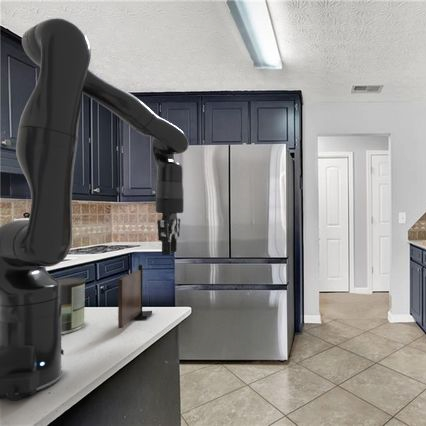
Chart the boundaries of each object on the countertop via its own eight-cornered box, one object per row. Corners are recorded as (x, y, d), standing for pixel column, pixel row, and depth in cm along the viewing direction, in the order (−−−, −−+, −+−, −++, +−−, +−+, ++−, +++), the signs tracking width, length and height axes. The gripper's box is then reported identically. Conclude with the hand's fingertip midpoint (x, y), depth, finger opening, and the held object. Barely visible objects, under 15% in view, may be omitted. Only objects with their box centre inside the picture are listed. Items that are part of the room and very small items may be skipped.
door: (122, 328, 85) (122, 279, 85) (117, 328, 85) (118, 279, 85) (141, 312, 98) (141, 270, 98) (137, 312, 98) (137, 270, 98)
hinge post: (146, 319, 97) (146, 266, 96) (125, 320, 95) (126, 266, 95) (152, 314, 101) (152, 263, 101) (132, 315, 100) (133, 263, 100)
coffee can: (49, 339, 81) (49, 287, 81) (32, 331, 86) (32, 282, 86) (92, 326, 91) (92, 279, 90) (75, 320, 95) (75, 275, 95)
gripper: (164, 197, 97) (164, 250, 97) (147, 196, 82) (146, 257, 83) (189, 198, 98) (188, 250, 98) (176, 196, 84) (175, 257, 84)
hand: (169, 253), depth 90 cm, fingers open, 5 cm apart
